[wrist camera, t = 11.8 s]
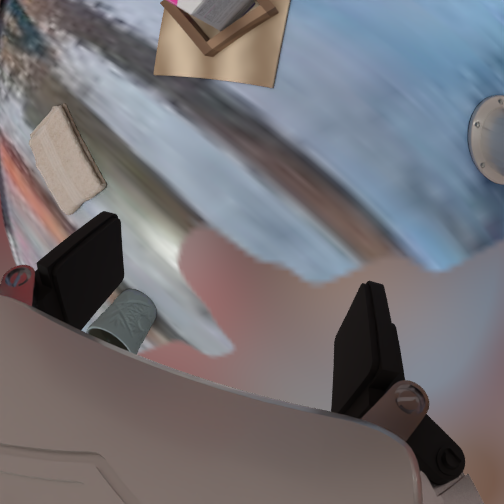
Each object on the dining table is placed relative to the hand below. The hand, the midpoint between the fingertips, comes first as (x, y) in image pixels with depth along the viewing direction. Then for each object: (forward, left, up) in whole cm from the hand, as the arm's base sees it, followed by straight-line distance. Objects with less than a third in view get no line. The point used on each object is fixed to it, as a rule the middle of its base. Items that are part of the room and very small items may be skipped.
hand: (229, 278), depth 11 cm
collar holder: (+12, -16, -30) cm, 36 cm away
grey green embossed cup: (+23, +37, -31) cm, 53 cm away
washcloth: (+38, +9, -31) cm, 49 cm away
